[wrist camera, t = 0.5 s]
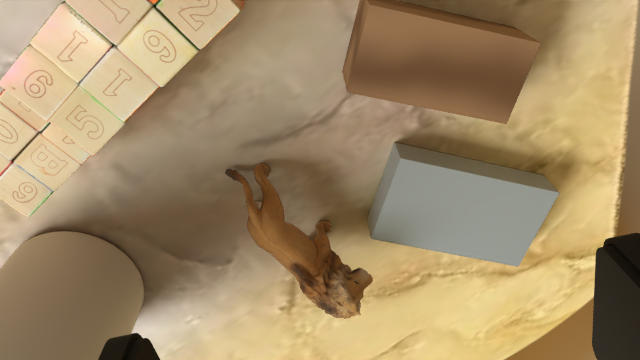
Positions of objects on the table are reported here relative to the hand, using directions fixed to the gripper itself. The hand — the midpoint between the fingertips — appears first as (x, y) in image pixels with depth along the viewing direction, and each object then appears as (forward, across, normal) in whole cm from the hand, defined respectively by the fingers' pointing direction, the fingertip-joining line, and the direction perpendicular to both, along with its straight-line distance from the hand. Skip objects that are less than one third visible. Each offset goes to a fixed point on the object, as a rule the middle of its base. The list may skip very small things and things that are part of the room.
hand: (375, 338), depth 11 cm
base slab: (+31, -8, +17) cm, 36 cm away
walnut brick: (+31, -8, +3) cm, 32 cm away
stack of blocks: (+31, +14, -2) cm, 34 cm away
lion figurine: (+31, +5, +15) cm, 35 cm away
